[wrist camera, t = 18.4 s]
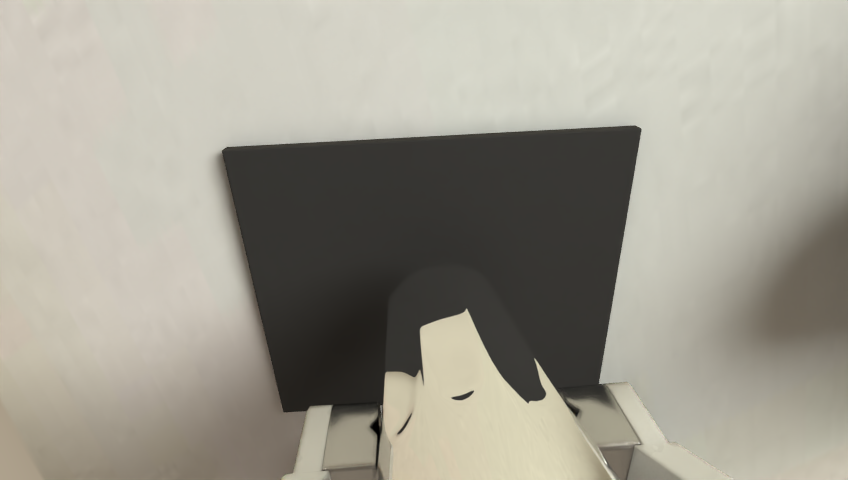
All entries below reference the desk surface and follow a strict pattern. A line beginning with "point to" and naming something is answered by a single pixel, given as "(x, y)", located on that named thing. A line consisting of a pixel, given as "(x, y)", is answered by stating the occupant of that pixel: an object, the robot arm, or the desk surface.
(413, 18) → the desk surface
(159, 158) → the desk surface
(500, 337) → the milkshake
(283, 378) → the mat
